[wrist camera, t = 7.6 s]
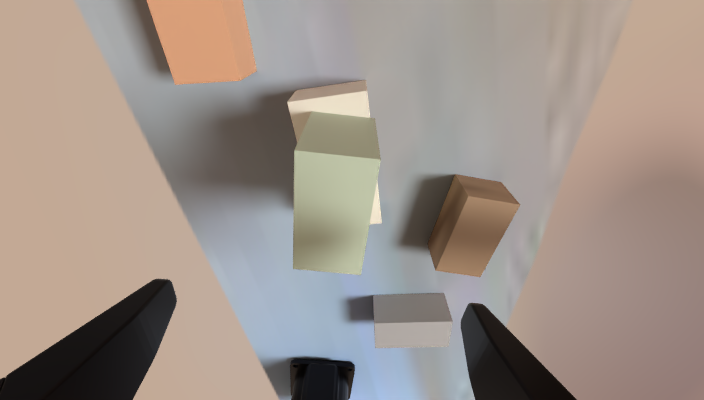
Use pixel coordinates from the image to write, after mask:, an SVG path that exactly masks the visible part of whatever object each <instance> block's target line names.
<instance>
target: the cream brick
mask: <svg viewBox="0 0 704 400" xmlns="http://www.w3.org/2000/svg"><path fill="white" fill-rule="evenodd" d="M287 103H288V107H289V111H290V116H291V120H292V124H293V128H294V132H295V136H296V140H297V143H298V141H299V139H300V137H301V134H302V132H303V130H304V128H305V126H306V123H307V121H308V119H309V117H310V115H311V112H312V111H313V112H322V113H331V114H340V115H349V116H357V117H366V118H370V112H369V103H368V94H367V86H366V80H362V81H355V82H348V83H342V84H335V85H328V86H321V87H314V88H307V89H300V90H296V91H295V92H294V94H293V95H292V96H291V98H290V99H289V100H288V102H287ZM377 223H382V220H381V211H380V202H379V193H378V184H376V190H375V195H374V201H373V207H372V213H371V219H370V224H377Z"/></svg>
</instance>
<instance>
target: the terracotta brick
mask: <svg viewBox="0 0 704 400" xmlns="http://www.w3.org/2000/svg"><path fill="white" fill-rule="evenodd" d="M147 3H148V6H149V9H150V12H151V15H152V18H153V21H154V24H155V27H156V30H157V33H158V35H159V38H160V41H161V44H162V47H163V50H164V53H165V56H166V59H167V62H168V65H169V68H170V71H171V74H172V76H173V79H174V82H175V85H176V84H193V83H209V82H226V81H241V80H242V79H244V78H246V77H247V76H249V75H251V74H252V73H254V72H256V71H257V69H256V64H255V59H254V55H253V50H252V45H251V40H250V35H249V30H248V25H247V21H246V16H245V11H244V6H243V1H242V0H147Z"/></svg>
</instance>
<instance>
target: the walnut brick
mask: <svg viewBox="0 0 704 400" xmlns="http://www.w3.org/2000/svg"><path fill="white" fill-rule="evenodd" d="M519 206H520V204H519V203H518V202H517V200H516V199H515V198H514V197H513V196H512V194H511V193H510V192H509V191H508V190H507V189H506V187H505V186H504V185H503V184H502V183H501V182H497V181H491V180H485V179H479V178H474V177H468V176H462V175H457V174H455V176H454V179H453V181H452V184H451V186H450V189H449V191H448V194H447V196H446V199H445V201H444V204H443V206H442V209H441V211H440V214H439V216H438V219H437V221H436V224H435V226H434V229H433V231H432V234H431V236H430V239H429V241H428V247H429V251H430V254H431V257H432V261H433V264H434V267H435V270H436V271H442V272H449V273H456V274H463V275H470V276H477V277H480V276H481V275H482V273H483V271H484V269H485V267H486V266H487V264H488V262H489V260H490V258H491V257H492V255H493V253H494V251H495V249H496V248H497V246H498V244H499V242H500V240H501V239H502V237H503V235H504V233H505V231H506V230H507V228H508V226H509V224H510V222H511V221H512V219H513V217H514V215H515V213H516V211H517V210H518V208H519Z"/></svg>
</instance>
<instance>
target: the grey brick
mask: <svg viewBox="0 0 704 400" xmlns="http://www.w3.org/2000/svg"><path fill="white" fill-rule="evenodd" d="M373 307H374V330H375V348H404V347H448V346H449V340H450V334H451V328H452V322H453V321H452V318H451V314H450V311H449V308H448V305H447V301H446V298H445V295H444V293H427V294H393V295H373Z"/></svg>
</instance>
